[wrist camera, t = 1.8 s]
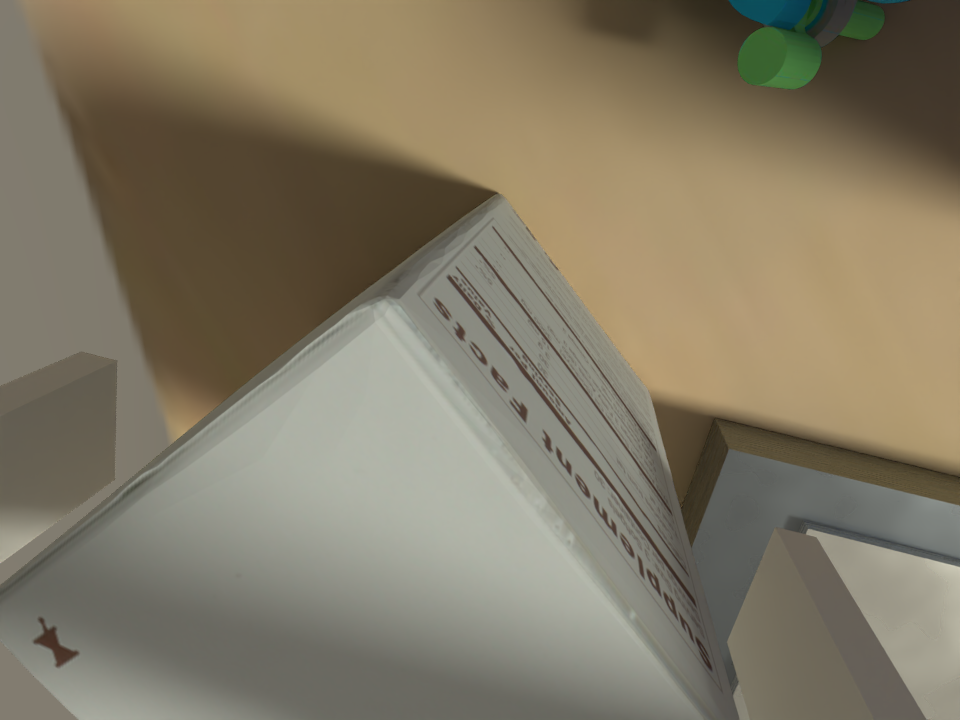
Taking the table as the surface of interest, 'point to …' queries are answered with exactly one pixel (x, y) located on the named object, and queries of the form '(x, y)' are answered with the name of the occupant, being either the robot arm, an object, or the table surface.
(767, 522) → the plate
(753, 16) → the gear
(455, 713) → the supplement box
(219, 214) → the table surface
